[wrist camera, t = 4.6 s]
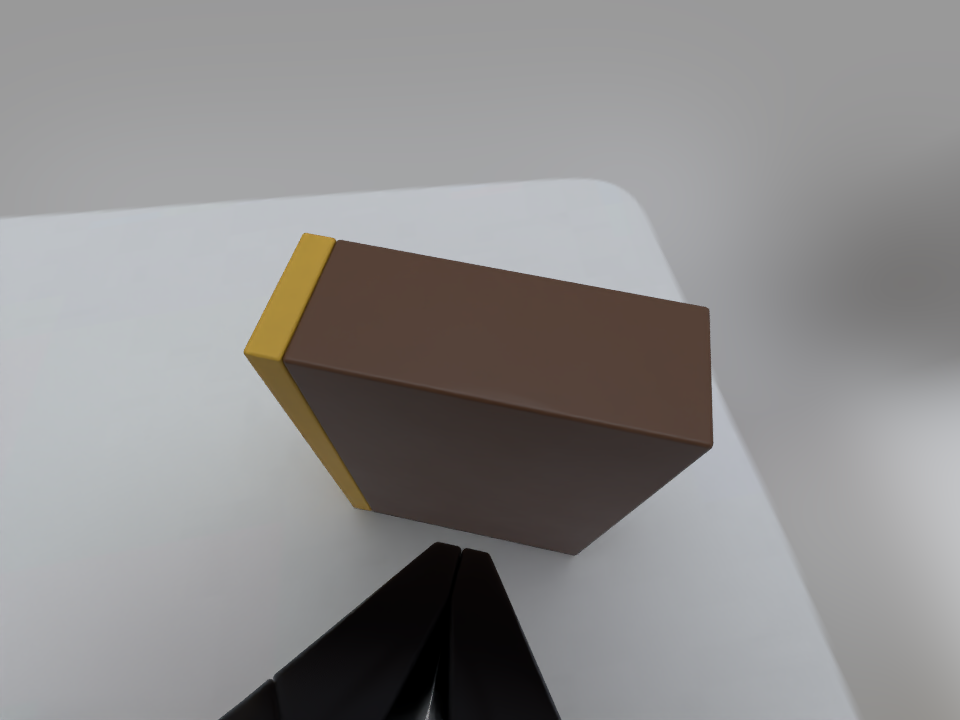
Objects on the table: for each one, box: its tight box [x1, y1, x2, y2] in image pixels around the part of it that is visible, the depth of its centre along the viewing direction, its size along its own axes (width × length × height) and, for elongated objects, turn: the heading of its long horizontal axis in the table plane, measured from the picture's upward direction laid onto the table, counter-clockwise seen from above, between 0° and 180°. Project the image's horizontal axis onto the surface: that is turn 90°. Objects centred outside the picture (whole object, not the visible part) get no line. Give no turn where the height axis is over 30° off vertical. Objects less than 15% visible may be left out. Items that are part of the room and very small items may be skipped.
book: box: [244, 233, 713, 555], centre depth 12 cm, size 2×7×10 cm, turn 79°
